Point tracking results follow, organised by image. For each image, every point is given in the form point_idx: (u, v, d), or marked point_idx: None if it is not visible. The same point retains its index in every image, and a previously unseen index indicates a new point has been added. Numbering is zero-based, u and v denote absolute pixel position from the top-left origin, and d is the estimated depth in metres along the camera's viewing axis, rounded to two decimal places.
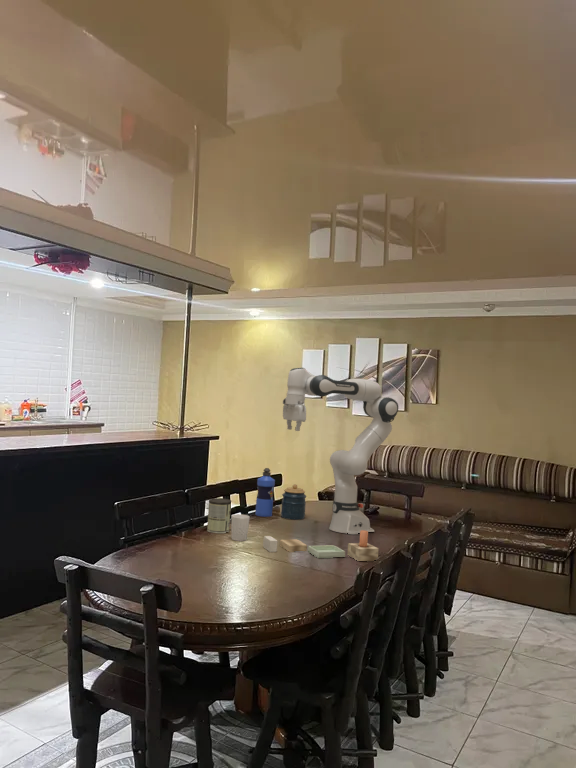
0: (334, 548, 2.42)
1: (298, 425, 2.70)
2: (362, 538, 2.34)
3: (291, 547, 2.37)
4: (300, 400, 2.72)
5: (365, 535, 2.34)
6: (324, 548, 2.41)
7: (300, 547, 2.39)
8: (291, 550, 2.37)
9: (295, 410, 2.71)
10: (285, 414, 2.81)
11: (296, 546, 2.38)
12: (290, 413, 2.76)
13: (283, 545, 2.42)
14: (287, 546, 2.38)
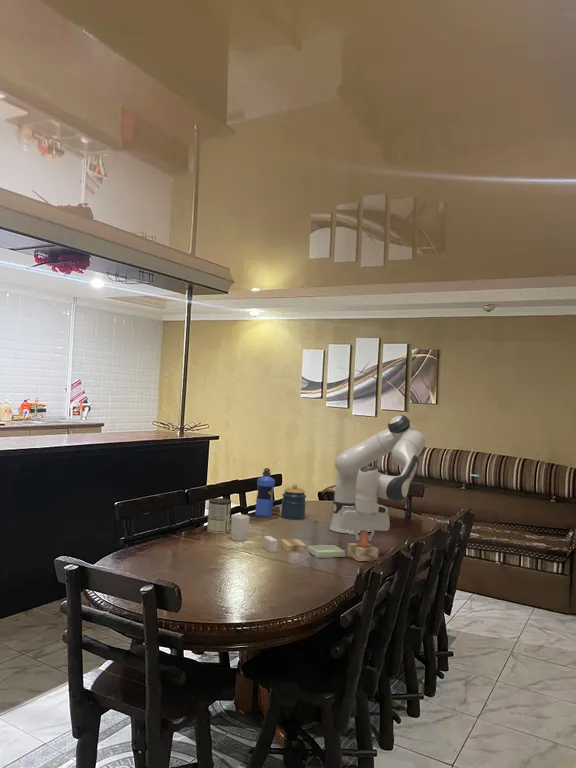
0: (334, 548, 2.42)
1: (355, 533, 2.35)
2: (362, 538, 2.34)
3: (290, 547, 2.37)
4: (356, 505, 2.34)
5: (365, 535, 2.34)
6: (324, 548, 2.41)
7: (299, 547, 2.38)
8: (290, 550, 2.37)
9: None
10: None
11: (295, 546, 2.38)
12: None
13: (283, 545, 2.42)
14: (286, 546, 2.39)
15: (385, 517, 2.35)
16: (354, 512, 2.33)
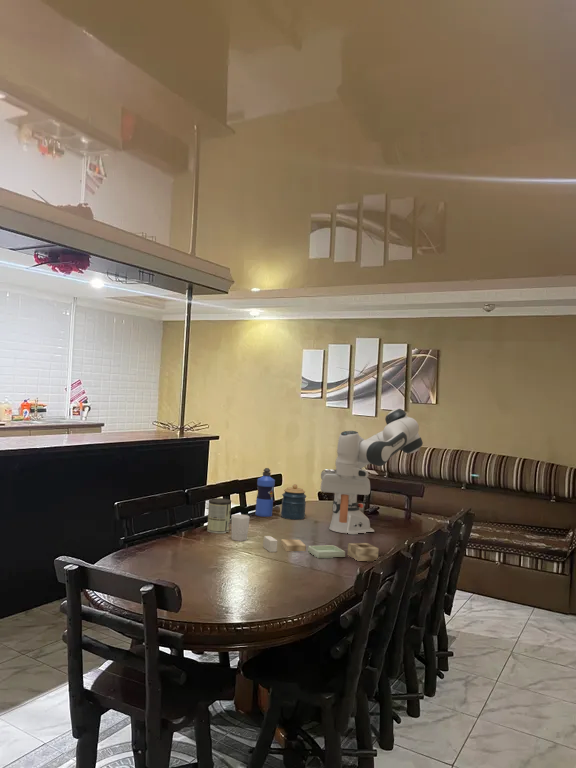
0: (334, 548, 2.42)
1: (335, 497, 2.37)
2: (343, 501, 2.35)
3: (289, 547, 2.37)
4: (336, 468, 2.36)
5: (345, 498, 2.35)
6: (324, 548, 2.41)
7: (299, 547, 2.38)
8: (289, 550, 2.37)
9: None
10: None
11: (295, 546, 2.38)
12: None
13: (283, 545, 2.43)
14: (286, 546, 2.39)
15: (365, 481, 2.35)
16: (334, 475, 2.35)
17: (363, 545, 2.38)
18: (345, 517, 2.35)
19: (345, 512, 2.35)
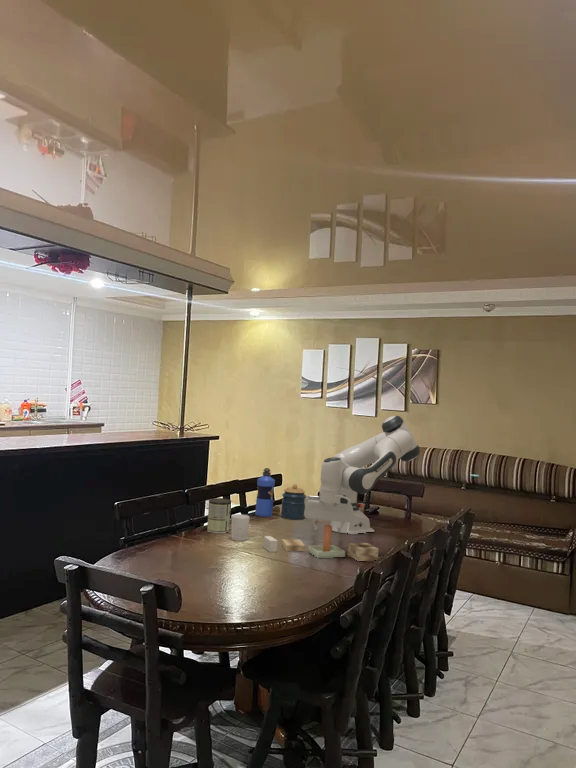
0: (334, 548, 2.42)
1: None
2: (325, 532, 2.36)
3: (288, 547, 2.37)
4: (319, 495, 2.37)
5: (328, 529, 2.35)
6: None
7: (298, 547, 2.38)
8: (288, 550, 2.37)
9: None
10: None
11: (294, 546, 2.38)
12: None
13: (283, 545, 2.43)
14: (285, 546, 2.39)
15: (348, 509, 2.34)
16: (317, 502, 2.36)
17: (363, 545, 2.38)
18: (328, 548, 2.35)
19: (327, 543, 2.35)
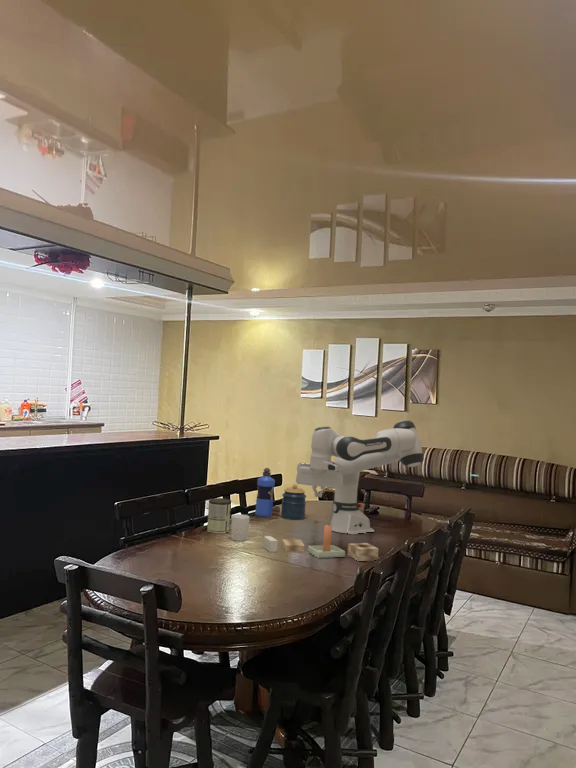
0: (334, 548, 2.42)
1: None
2: (325, 532, 2.36)
3: (288, 547, 2.38)
4: (310, 462, 2.49)
5: (328, 530, 2.35)
6: None
7: (297, 547, 2.38)
8: (288, 550, 2.38)
9: None
10: None
11: (293, 546, 2.38)
12: None
13: (283, 545, 2.43)
14: (285, 545, 2.39)
15: (336, 475, 2.43)
16: (307, 468, 2.48)
17: (363, 545, 2.38)
18: (328, 548, 2.35)
19: (327, 543, 2.35)
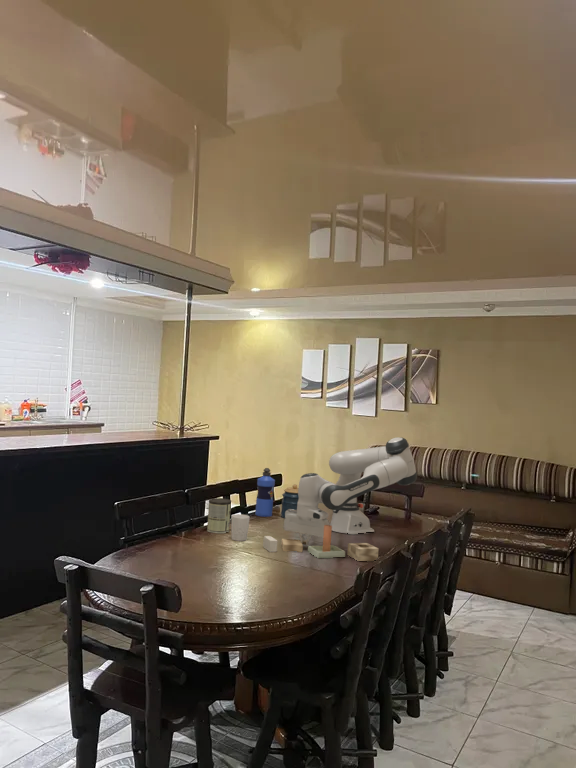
0: (334, 548, 2.42)
1: None
2: (325, 532, 2.36)
3: (285, 546, 2.38)
4: None
5: (327, 530, 2.35)
6: None
7: (295, 547, 2.38)
8: (285, 549, 2.38)
9: None
10: None
11: (291, 546, 2.38)
12: None
13: (282, 544, 2.43)
14: None
15: (321, 524, 2.39)
16: (294, 515, 2.46)
17: (363, 545, 2.38)
18: (327, 548, 2.35)
19: (327, 543, 2.35)
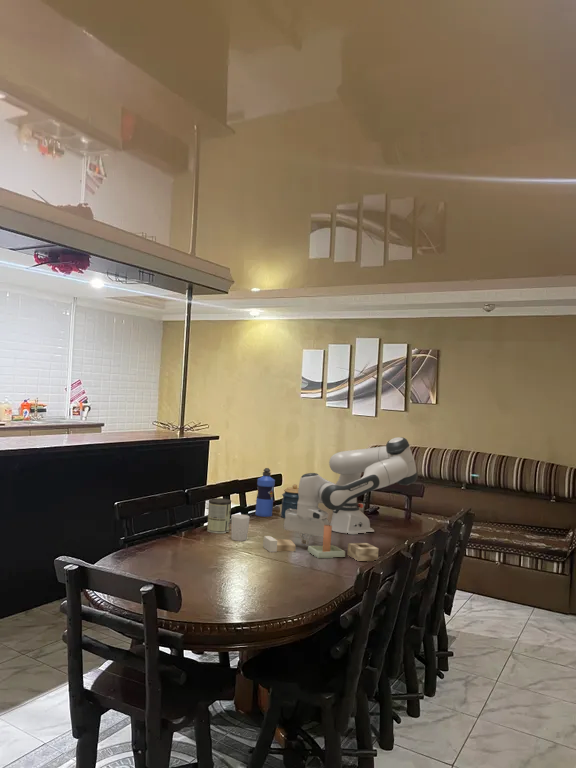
0: (334, 548, 2.42)
1: None
2: (325, 532, 2.36)
3: (279, 546, 2.37)
4: None
5: (327, 530, 2.35)
6: None
7: (288, 547, 2.37)
8: (279, 550, 2.37)
9: None
10: None
11: (284, 546, 2.37)
12: None
13: None
14: None
15: (321, 523, 2.40)
16: (294, 515, 2.47)
17: (363, 545, 2.38)
18: (327, 548, 2.35)
19: (327, 543, 2.35)
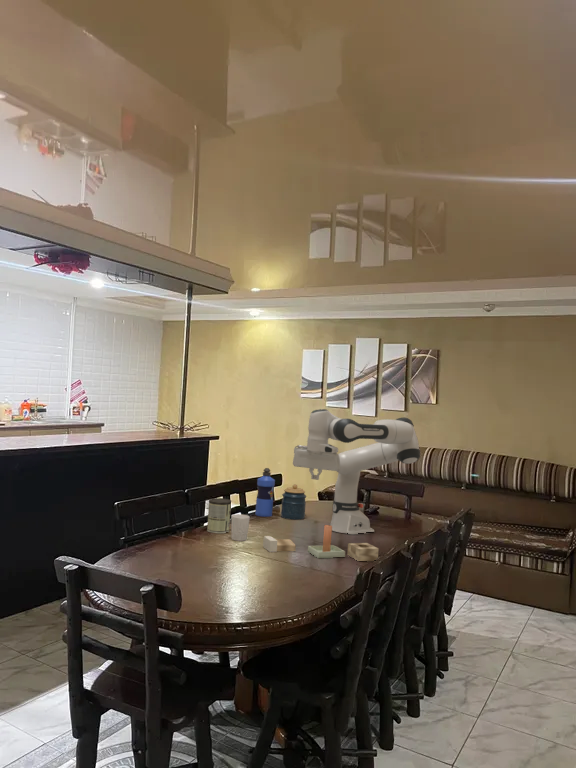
0: (334, 548, 2.42)
1: None
2: (325, 532, 2.36)
3: (279, 547, 2.37)
4: None
5: (328, 530, 2.35)
6: None
7: (288, 547, 2.37)
8: (279, 550, 2.37)
9: None
10: None
11: (284, 546, 2.37)
12: None
13: None
14: None
15: (333, 457, 2.42)
16: (304, 451, 2.47)
17: (363, 545, 2.38)
18: (327, 548, 2.35)
19: (327, 543, 2.35)
